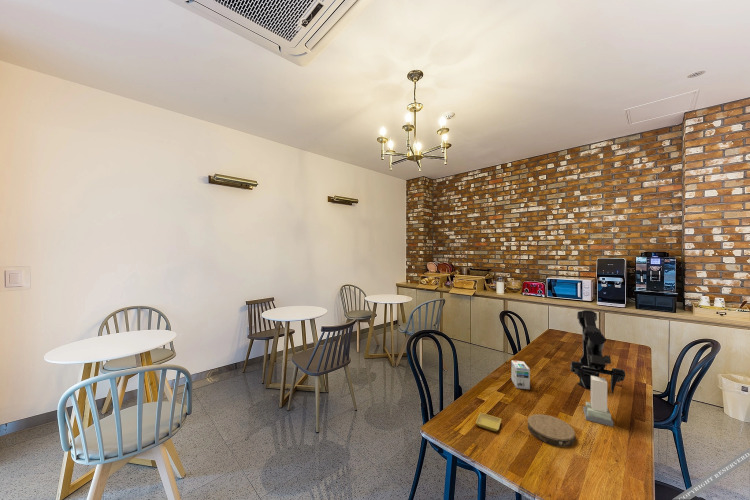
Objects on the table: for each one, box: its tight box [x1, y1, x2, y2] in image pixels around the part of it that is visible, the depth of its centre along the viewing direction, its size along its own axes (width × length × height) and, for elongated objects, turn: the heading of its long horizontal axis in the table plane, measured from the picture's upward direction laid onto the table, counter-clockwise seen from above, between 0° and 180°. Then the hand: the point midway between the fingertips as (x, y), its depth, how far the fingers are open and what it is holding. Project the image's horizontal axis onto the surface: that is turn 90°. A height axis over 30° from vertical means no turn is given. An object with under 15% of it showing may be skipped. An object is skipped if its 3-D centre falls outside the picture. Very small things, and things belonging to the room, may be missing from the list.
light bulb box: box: [510, 360, 531, 390], centre depth 154 cm, size 11×7×11 cm, turn 168°
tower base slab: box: [583, 405, 614, 428], centre depth 124 cm, size 9×9×2 cm
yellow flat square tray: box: [475, 412, 502, 432], centre depth 118 cm, size 9×9×2 cm
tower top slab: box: [585, 401, 612, 421], centre depth 123 cm, size 8×8×2 cm
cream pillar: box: [590, 376, 608, 413], centre depth 123 cm, size 5×5×12 cm
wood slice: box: [527, 413, 576, 448], centre depth 113 cm, size 16×16×3 cm
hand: (598, 390), depth 122 cm, fingers open, 9 cm apart
